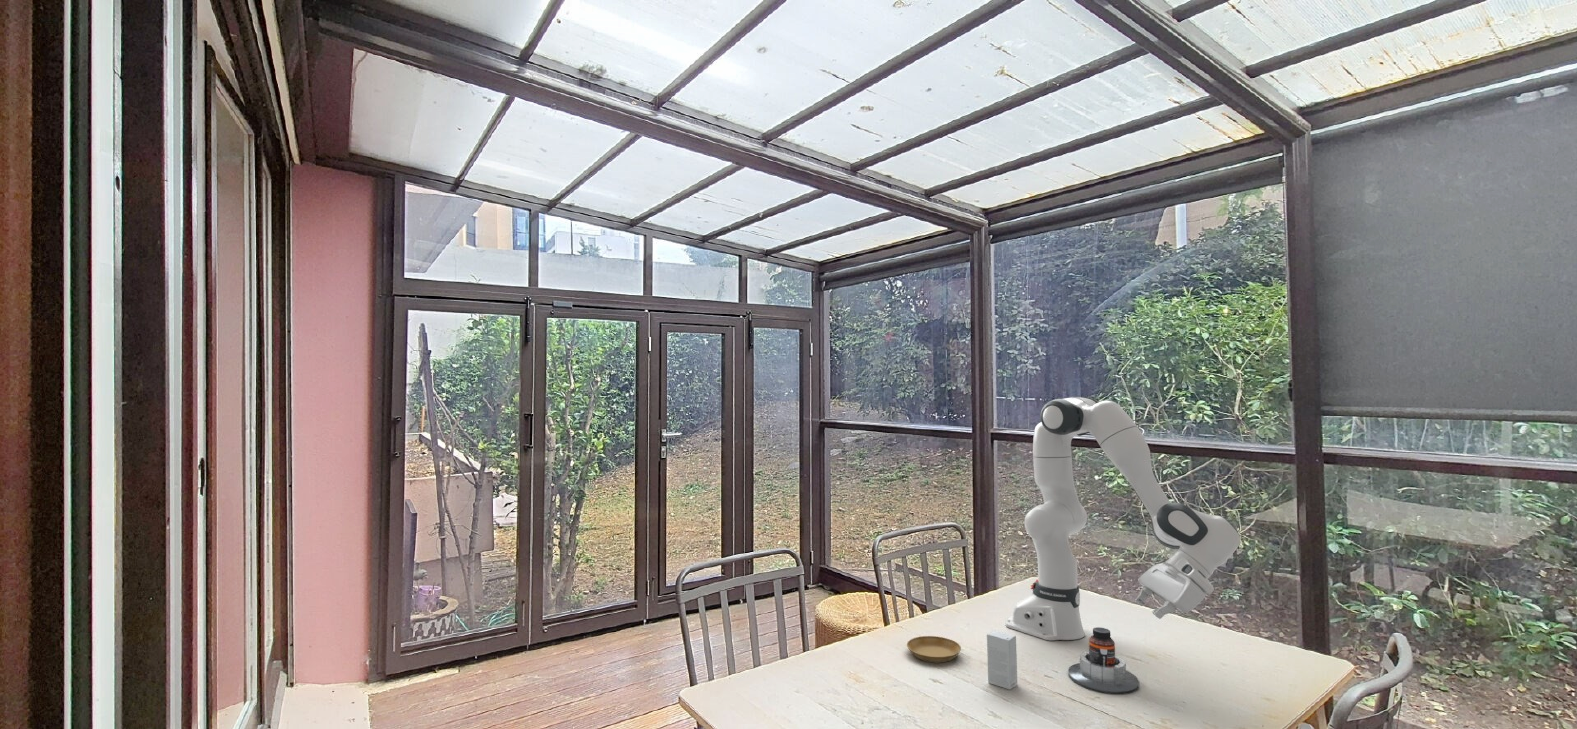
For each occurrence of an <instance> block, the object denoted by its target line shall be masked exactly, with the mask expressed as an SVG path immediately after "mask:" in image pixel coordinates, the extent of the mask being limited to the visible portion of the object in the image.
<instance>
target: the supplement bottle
mask: <svg viewBox="0 0 1577 729" xmlns="http://www.w3.org/2000/svg"><path fill="white" fill-rule="evenodd" d="M1092 634H1093V635H1091V636H1089V639H1088V647H1089V648H1088V652H1089V661H1090V662H1092V663H1095V664H1099V665H1105V666H1114V665H1115V655H1116V643H1115V641H1114V639H1113V638H1112V637H1111V630H1109V629H1108V628H1105V627H1100V626H1099V627H1093V628H1092Z"/></svg>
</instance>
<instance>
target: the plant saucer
mask: <svg viewBox="0 0 1577 729" xmlns="http://www.w3.org/2000/svg"><path fill="white" fill-rule="evenodd" d="M906 647H907V648H908V650H909V651H910V653H911V654H912V655H914V656H915V657H916V658H917V659H919V660H921V661H924V662H928V663H936V664H937V663H946V662H950V661H952V660H953V659H954V658H956V657H957V656H958V655H959V653H960V652H961V651H962V647H961V645H960V644H959V643H958V642H956V641H955V640H953V639H950V638H948V637H943V636H934V635H923V636H917V637H914V638H911V639H909V640H908V641H907V643H906Z"/></svg>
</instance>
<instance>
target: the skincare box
mask: <svg viewBox="0 0 1577 729" xmlns="http://www.w3.org/2000/svg"><path fill="white" fill-rule="evenodd" d="M986 647H987V649H986V650H987V652H986V653H987V654H986V655H987V683H988V684H990V685H991V684H992V685H994V686H998V687H1000V688H1004V689H1007V690H1012V689H1014V688H1015V687H1016V686H1017V685H1018V658H1017V656H1018V655H1017V636H1016V635H1014V634H1010V633H1006V632H1001V631H999V630H998V631H997V630H993V631H991V632H990V633H987V634H986Z"/></svg>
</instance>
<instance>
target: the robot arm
mask: <svg viewBox="0 0 1577 729" xmlns="http://www.w3.org/2000/svg"><path fill="white" fill-rule="evenodd" d="M1033 430H1034V431H1033V439H1032V441H1033V442H1032V458H1033V459H1032V460H1033V462H1032V463H1033V474H1034V476H1033V477H1034V482H1035V484H1036V486H1037V487H1038V488H1039V490H1040V493H1041V495H1042V498H1043V503H1042V504H1038V505H1036V506H1034V508H1031V510H1029V511H1028V512H1027V513H1026V514H1025V517H1024V521H1023V522H1024V528H1025V530H1026V532H1027V533H1026V534H1028V536H1030V537H1031V539H1032V542H1033V544H1034V547H1035V553H1036V556H1037V557H1036V558H1037V572H1038V574H1037V577H1038V578H1037V579H1036V580H1035V581H1034V582H1033V583H1031V585H1030V590H1032V592H1031V593H1030V594H1028V595H1027V596H1026V597H1023V598H1021V600H1019V601H1017V603H1016V604H1015V606H1014V608H1013V613H1012V615H1010V616H1009V617H1008V618H1006V620H1005V627H1007V628H1009V629H1012V630H1015V631H1019V632H1021V633H1025V634H1027V635H1030V636H1033V637H1037V638H1040V639H1043V640H1045V641H1059V640H1062V641H1063V640H1065V641H1069V640H1071V641H1072V640H1073V641H1074V640H1079V639H1082V638H1083V637H1085V630H1084V627H1083V623H1082V620H1081V619H1082V618H1081V612H1080V605H1081V604H1080V603H1081V593H1080V586H1079V585H1078V562H1077V559H1076V557H1075V556H1074V555H1073V553H1072V549H1071V545H1070V540H1069V539H1070V538H1069V537H1070V536H1073V535H1076V534H1078V533H1079V532H1080V531H1081V530H1082V529H1083V528H1084V527H1085V526H1086V524H1087V522H1088V515H1087V510H1086V509H1085V507H1084V506H1083V505H1082V504H1081V502H1080V499H1079V495H1078V493H1077V489H1076V486H1075V480H1074V471H1073V470H1074V469H1073V460H1072V458H1073V457H1072V440H1073V438H1074V437H1075V436H1079V437H1082V436H1084V435H1087V434H1091V435H1092V436H1093V437H1094V438H1095V440H1096V442H1097V443H1098V445H1099V446H1100V448H1101V450H1102V451H1103V453H1104V455H1106V457H1107V458H1108V460H1110V462H1111V463H1112V464H1113V465H1114V467H1115V468H1116V469H1117V470H1118V471H1119V472H1120V473H1121V474H1122V475H1123V477H1124V478H1125V479H1126V480H1127V482H1128V483H1129V484H1130V486H1131V487H1132V489H1133V490H1134V492H1135V493H1136V496H1137V497H1138V498H1139V500H1140V502H1141V503H1142V505H1143V507H1144V508H1145V510H1146V511H1147V513H1148V515H1149V519H1150V521H1151V528H1152V530H1151V531H1152V533H1153V536H1154V538H1155V539H1156V541H1158V543H1160V544H1161V545H1162V546H1164V547H1165V548H1168V549H1172V550H1176V551H1175V552H1174V553H1173V554H1172V555H1171V556H1170V557H1169V558H1168V559H1167V560H1166V561H1165V562H1161V563H1156V564H1153V565H1152V566H1151V567H1150V568H1148V569H1147V570H1146V571H1145V572H1143V574H1141V575H1140V577H1139V578H1138V583H1139V584H1140V585H1141V586H1142V588H1141V589H1140V590H1139V594H1138V595H1137V597H1135V598H1134V601H1135V603H1136V604H1138V605H1139V606H1140V607H1143V606H1144V605H1145V604H1146V603H1147V599H1148V597H1151V596H1152V595H1154V596H1156V598H1159V599H1160V600H1162V601H1163V605H1161V606H1160V607H1155V608H1154V610H1153V609H1152V614H1153V615H1154V616H1155V617H1156V618H1157V619H1159V620H1160V619H1163V617H1164V616H1166V615H1168V614H1170V613H1173V612H1175V610H1178V611H1179V612H1181V613H1183V614H1186V613H1189V612H1191V611H1192V610H1194V609H1195V608H1196V607H1197V606H1198V605H1199V604H1200V603H1201V602H1202V601H1203V600H1204V599H1205V597H1206V595H1211V594H1212V593H1213V592H1214V591H1215V588H1214V586H1213V584H1212V583H1211V582H1210V578H1211V576H1212V575H1213V573H1214V571H1215V570H1216V569H1217V568H1218V567H1220V566H1223V564H1225V563H1226V562H1227V561H1228V559H1229V558H1231V556H1232V555H1233V554H1234V553H1235V552H1236V550H1237V549H1238V547H1239V546H1240V544H1241V535H1240V533H1239V532H1238V530H1237V529H1236V527H1235V526H1234V525H1233V524H1232V523H1231V522H1230V521H1228V520H1227V519H1226V518H1225V517H1224V516H1221V515H1215V514H1214V515H1213V514H1208V513H1205V512H1203V511H1202V512H1201V511H1199V510H1196V509H1193V507H1191V506H1188V505H1187V504H1184V503H1182V502H1181V503H1180V502H1171V501H1170V500H1169V498H1168V496H1167V495H1166V493H1165V491H1163V488H1162V487H1161V486H1160V484H1159V482H1158V481H1157V479H1156V476H1155V474H1154V472H1153V471H1154V470H1153V468H1152V459H1151V449H1150V447H1149V445H1148V443H1147V440H1146V439H1145V436H1144V434H1143V433H1142V432H1141V430H1140V429H1139V427H1138V425H1137V424H1136V422H1134V420H1133V419H1132V417H1130V415H1129V414H1128V413H1127V412H1126V411H1125V410H1124V409H1123V408H1122V407H1121V406H1120V405H1119V404H1118V403H1117V402H1115V401H1113V400H1101V401H1098V400H1097V399H1095V398H1092V397H1088V396H1087V397H1080V396H1070V397H1066V398H1055V399H1052V400H1050V401H1048V402H1046V403H1045V404H1044V405H1043V406H1042V409H1041V411H1040V422H1039V423H1037V424H1036V425H1035V426H1034V429H1033Z"/></svg>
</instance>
